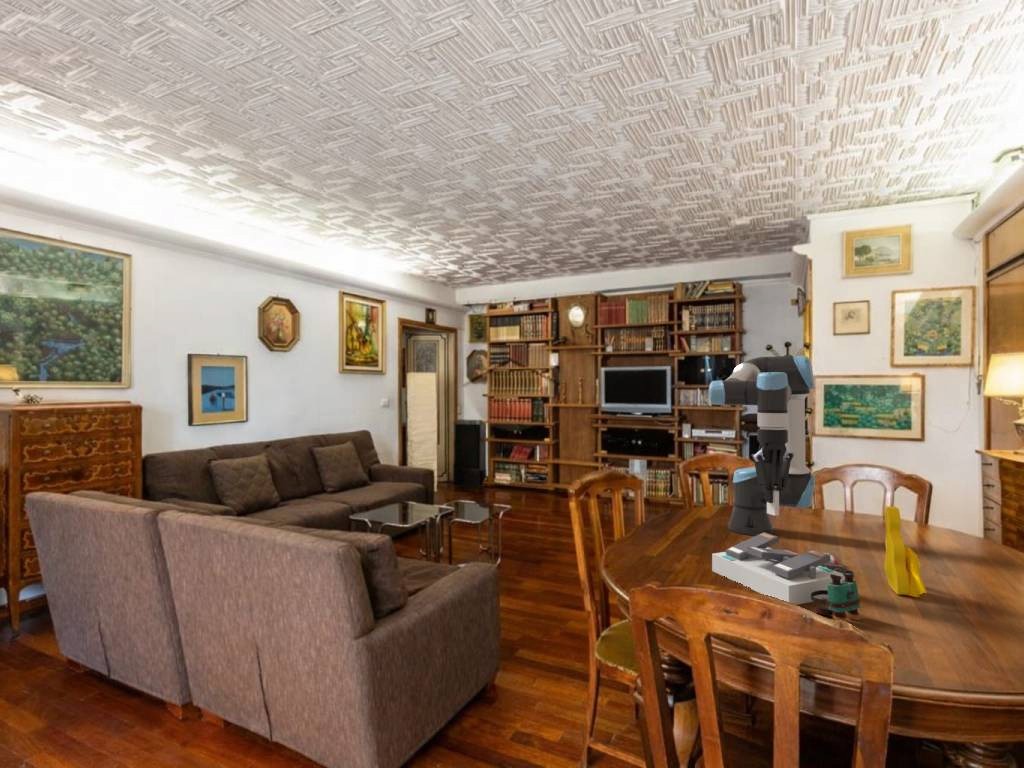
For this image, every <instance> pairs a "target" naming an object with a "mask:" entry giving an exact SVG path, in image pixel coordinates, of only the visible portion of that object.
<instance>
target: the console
mask: <svg viewBox="0 0 1024 768" xmlns="http://www.w3.org/2000/svg"><path fill="white" fill-rule="evenodd" d="M744 541H745V540H743V541H740V543H741V542H744ZM766 549H772V548H771V547H767V548H766ZM711 558H712V559H711V571H712V572H714V573H716V574H718V575H720V576H722V577H724V576H725V577H724V578H726V577H727V579H729V580H731V581H733V582H735V581H736V583H737V582H738V584H739V583H741V584H743V585H742V586H744V587H746V586H747V587H746V588H748V587H750V588H751V590H752V591H755V592H757V593H758V594H761V595H763V594H764V596H765V595H768V596H772V597H775V598H778V599H780V600H784V601H787V602H790V603H793V604H796V605H795V606H799V605H803V604H808V603H813V602H814V601H812V600H811V593H812V592H815V591H819V590H828V584H829V583H832V579H831V576H830V574H833V575H837V576H841V580H840V582H841V581H843V580H845V576H844V575H843V574H842V573H839V572H836V571H834V570H831V569H828V568H825V567H822V566H818V567H814V566H810V567H809V570H808V571H806V572H803V573H801V574H799V575H796V576H794V577H791V578H789V579H788V578H785V577H783V576H780V575H778V574H776V573H773V572H772V569H771V566H772V565H775V564H777V563H780V562H783V561H785V560H788V559H790V558H789V557H786V556H785V557H782V560H775V559H762V558H759V557H756V556H754V555H750V556H748V557H746V558H744V559H742V560H737V559H735V558H732V557H730V556H727V555H726V551H721V552H715V553H714V552H713V553H712V554H711ZM741 584H740V585H741ZM750 588H749V589H750ZM822 597H824V598H826V599H827V600H828V595H816V596H814V598H818V599H822ZM824 598H823V599H824ZM826 599H824V600H826ZM814 603H815V602H814Z"/></svg>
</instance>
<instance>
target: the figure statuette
mask: <svg viewBox="0 0 1024 768" xmlns="http://www.w3.org/2000/svg"><path fill="white" fill-rule="evenodd" d="M901 518H902V517H901V514H900V509H899V507H897V506H884V523H885V539H884V541H885V543H884V545H885V559H884V567H883V568H884V572H885V575H886V579H887V582H888V583H887V584H888V587H889V588H890V589H891V590H892V591H893V592H894V593H895V594H896V595H899V596H901V595H903V596H908V597H909V596H910V597H913V598H920V596H921V595H927V594H928V592H927V590H926V587H925V585H924V581H923V579H922V577H921V572H920V568H921V566H922V562H921V561H919V557H920V556H919V555H918V554H916V553H915V552H914V550H913V549H912V548H911V547H909V546H908V545H906V546H905V544H904V540H903V537H902V533H901V526H902V525H901V523H902V520H901Z"/></svg>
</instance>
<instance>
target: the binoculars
mask: <svg viewBox="0 0 1024 768" xmlns="http://www.w3.org/2000/svg"><path fill="white" fill-rule="evenodd" d="M843 575H844V576H845V580H843V581H841V582H840V580H841V576H837V575H833V574H830V576H831V579H832V583H829V584H828V590H819V591H815V592H812V593H811V600H812V601H814V603H817V604H821V605H822V606H815V613H817V614H821V615H824V616H825V615H827V616H830V617H832V619H833V620H834V619H836V620H842V621H847V622H848V618H849V619H851V620H855V621H860V620H861V614H860V613H859V610H858V609H859V608H861V606H860V604H861V599H860V596H859V590H858V584H857V581H856V580H854V576H855V575H854V571H853V570H850V569H849V570H845V571H844V572H843ZM816 595H828V599H826V598H824V597H822V599H818V598H814V596H816ZM823 598H824V599H823ZM825 600H826V601H825ZM825 604H826V605H825Z"/></svg>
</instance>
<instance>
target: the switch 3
mask: <svg viewBox="0 0 1024 768" xmlns="http://www.w3.org/2000/svg"><path fill="white" fill-rule="evenodd" d="M825 553H826V552H821V551H818V550H814V549H811V550H810V549H809V550H808V551H806V552H803V553H799V554H800V555H798V556H795V557H793V558H790V559H788V560H785V561H783V562H780V563H777V564H775V565H772V566H771V569H772V572H773V573H776V574H778V575H780V576H783V577H785V578H788V579H789V578H791V577H794V576H796V575H799V574H801V573H803V572H806V571H808V570H809V567H810V566H814V567H818V566H820V565H823V564H825V563H828V562H830V561H831V559H830V555H828V554H825Z"/></svg>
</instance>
